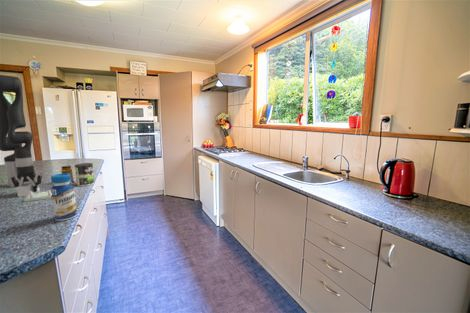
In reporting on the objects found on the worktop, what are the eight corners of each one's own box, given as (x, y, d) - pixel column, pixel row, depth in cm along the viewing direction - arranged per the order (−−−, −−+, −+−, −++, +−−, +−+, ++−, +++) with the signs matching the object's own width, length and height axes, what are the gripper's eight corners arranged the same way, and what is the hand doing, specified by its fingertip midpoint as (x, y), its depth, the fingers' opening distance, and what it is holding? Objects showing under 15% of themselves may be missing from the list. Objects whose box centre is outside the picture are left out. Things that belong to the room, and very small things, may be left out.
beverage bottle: (74, 211, 104) (69, 171, 100) (80, 216, 98) (75, 174, 95) (52, 217, 97) (46, 175, 94) (57, 223, 92) (50, 178, 89)
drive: (30, 190, 135) (28, 181, 134) (40, 189, 136) (38, 180, 135) (18, 197, 124) (16, 186, 123) (28, 196, 125) (27, 186, 124)
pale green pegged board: (23, 201, 117) (22, 193, 116) (33, 195, 127) (32, 187, 126) (55, 198, 122) (54, 190, 121) (62, 192, 132) (61, 185, 131)
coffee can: (98, 182, 153) (96, 163, 151) (85, 186, 143) (83, 166, 141) (86, 181, 155) (84, 162, 153) (73, 185, 145) (70, 165, 143)
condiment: (60, 183, 152) (58, 166, 150) (73, 180, 159) (71, 164, 157) (65, 184, 149) (63, 167, 147) (79, 181, 156) (77, 165, 154)
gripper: (42, 163, 133) (46, 189, 136) (12, 164, 128) (17, 191, 131) (37, 165, 126) (41, 192, 129) (5, 167, 121) (10, 195, 124)
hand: (29, 192), depth 130 cm, fingers closed on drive, 5 cm apart
